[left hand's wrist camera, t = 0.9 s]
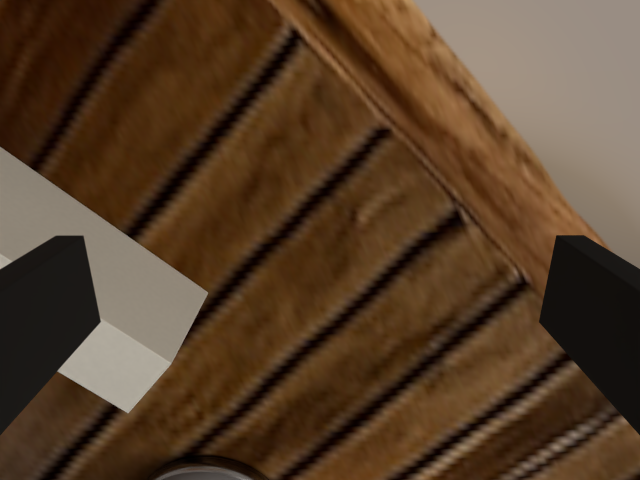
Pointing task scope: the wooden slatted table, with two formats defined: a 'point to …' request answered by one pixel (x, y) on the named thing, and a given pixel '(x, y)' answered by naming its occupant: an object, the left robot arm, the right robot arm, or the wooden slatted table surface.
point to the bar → (103, 287)
